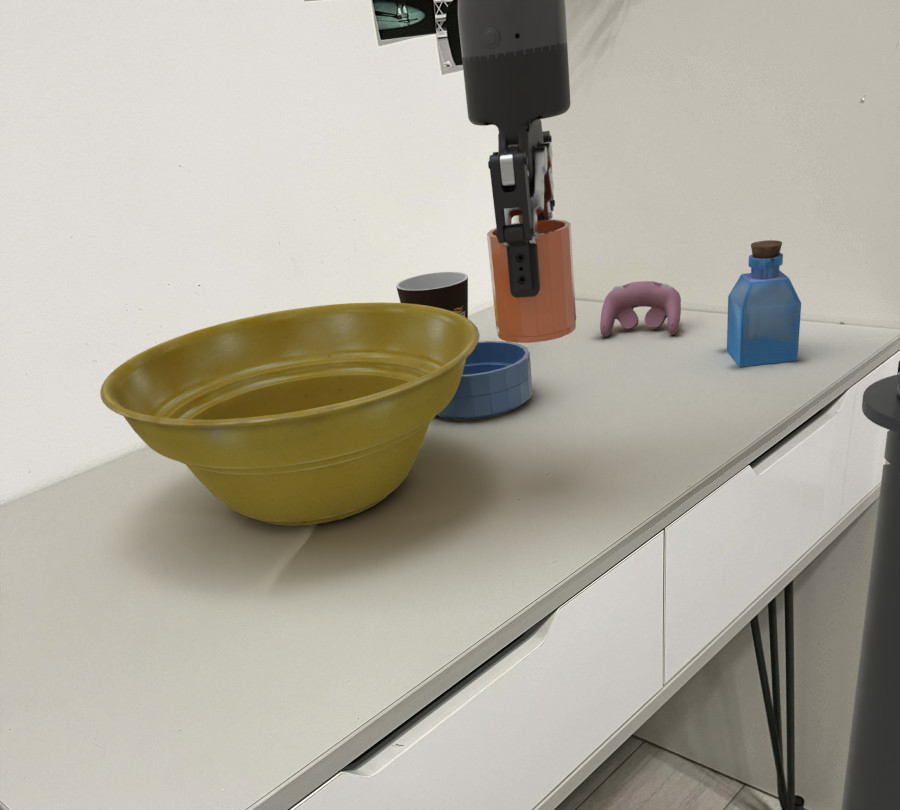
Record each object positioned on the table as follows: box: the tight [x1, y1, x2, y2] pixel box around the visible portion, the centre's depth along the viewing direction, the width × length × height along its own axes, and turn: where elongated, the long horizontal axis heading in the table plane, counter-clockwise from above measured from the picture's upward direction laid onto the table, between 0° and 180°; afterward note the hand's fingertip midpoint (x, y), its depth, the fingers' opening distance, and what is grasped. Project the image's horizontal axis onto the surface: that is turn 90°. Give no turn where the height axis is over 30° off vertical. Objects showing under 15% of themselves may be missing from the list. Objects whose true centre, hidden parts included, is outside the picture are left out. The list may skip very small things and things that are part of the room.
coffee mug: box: [395, 271, 469, 319], centre depth 116 cm, size 12×9×10 cm
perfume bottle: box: [726, 239, 802, 368], centre depth 103 cm, size 6×6×12 cm
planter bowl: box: [99, 302, 480, 527], centre depth 85 cm, size 32×32×13 cm
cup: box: [486, 219, 577, 344], centre depth 76 cm, size 6×6×8 cm
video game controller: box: [599, 280, 682, 338], centre depth 119 cm, size 10×5×7 cm, turn 72°
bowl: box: [436, 340, 534, 421], centre depth 103 cm, size 12×12×5 cm
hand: (532, 283), depth 76 cm, fingers closed on cup, 6 cm apart
